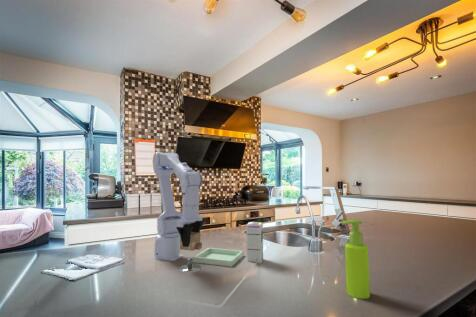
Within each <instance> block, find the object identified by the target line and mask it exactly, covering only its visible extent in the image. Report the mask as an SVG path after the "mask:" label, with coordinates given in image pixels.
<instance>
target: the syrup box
mask: <svg viewBox="0 0 476 317" xmlns="http://www.w3.org/2000/svg"><path fill="white" fill-rule="evenodd" d="M245 227H246V228H245V229H246V231H245V232H246V235H245V236H246V261H247V262H252V263H253V262H254V264H262V263H263V261H264V240H263V238H264V236H263V233H264V232H263V222H261V221H250V222H249V221H248V223H246V226H245Z"/></svg>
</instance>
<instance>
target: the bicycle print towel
mask: <svg viewBox="0 0 476 317" xmlns="http://www.w3.org/2000/svg"><path fill="white" fill-rule="evenodd" d="M70 263H71V264H74V265H77V266H81V267H80V268H81V269H82V270H64V269H54V270H55V271H52V270H48V269H44V270H42V271H44V272H50V273H53V274H55V275H59V276H61V277H65V278H68V279H69V280H76V281H78V280H77V279H79V280H81V279H84V278H86V277H85V276H87V277H89V276H91V275H90V274H92V275H94V274H93V273H95V274H97V272H98V273H100V272H103V271H105V270H108V269H111V268H114V267H117V266H120V265H123V264H124V263H125V261H124V258H122V257H121V258H120V257H116V256H115V257H114V256H106V255H100V254H99V255H98V254H93V253H92V254H91V253H90V254H86V255H83V256H77V257H75V258H70V259H67V260H66V262H65V263H64V264H70ZM85 268H90V269H85ZM102 270H103V271H102ZM99 271H100V272H99ZM88 275H89V276H88ZM83 277H84V278H83ZM80 278H81V279H80ZM69 280H68V281H69Z"/></svg>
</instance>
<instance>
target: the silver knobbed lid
mask: <svg viewBox="0 0 476 317" xmlns="http://www.w3.org/2000/svg"><path fill="white" fill-rule="evenodd" d="M201 269H202V266H201V265H198V264H195V263H194V264H193V257H188V258H187V264H184V265H181V266H179V267H178V269H177V271H178V272H181V273H188V274H189V273H196V272H198V271H200V270H201Z"/></svg>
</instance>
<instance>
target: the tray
mask: <svg viewBox="0 0 476 317" xmlns="http://www.w3.org/2000/svg"><path fill="white" fill-rule="evenodd" d="M243 257H244V250H237V249H236V250H235V249H225V248H216V247H208V248H205V249H204V250H203V251H201V252H199V253H197V254H196V255H194V256H192V263H198V264H206V265H214V266H222V267H231V268H232V267H233V266H234V265H235V264H236V263H237V262H238V261H239V260H240V259H242V258H243Z"/></svg>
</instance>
